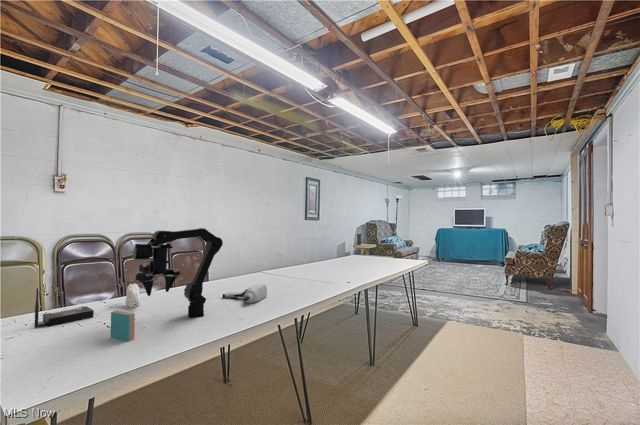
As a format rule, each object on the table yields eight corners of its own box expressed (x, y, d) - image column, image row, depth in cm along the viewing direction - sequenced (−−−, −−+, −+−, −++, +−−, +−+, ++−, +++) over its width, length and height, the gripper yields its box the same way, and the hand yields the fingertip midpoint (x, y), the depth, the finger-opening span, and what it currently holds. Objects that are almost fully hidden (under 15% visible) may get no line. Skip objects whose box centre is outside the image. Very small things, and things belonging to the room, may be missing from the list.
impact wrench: (209, 299, 166) (251, 290, 161) (228, 290, 188) (266, 282, 184) (212, 314, 165) (254, 305, 161) (231, 303, 187) (268, 295, 183)
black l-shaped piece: (84, 313, 150) (85, 278, 150) (94, 319, 141) (95, 282, 142) (29, 324, 134) (30, 285, 134) (36, 331, 125) (38, 290, 126)
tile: (116, 335, 120) (117, 310, 121) (134, 339, 117) (134, 313, 117) (110, 337, 118) (111, 312, 118) (128, 341, 114) (128, 315, 115)
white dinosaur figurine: (135, 299, 172) (136, 279, 171) (147, 312, 155) (148, 291, 154) (121, 301, 167) (122, 281, 166) (132, 315, 150) (133, 293, 149)
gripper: (164, 255, 147) (162, 288, 147) (127, 259, 130) (125, 296, 129) (181, 257, 143) (180, 290, 142) (146, 261, 126) (143, 299, 125)
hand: (158, 293), depth 135 cm, fingers open, 9 cm apart
